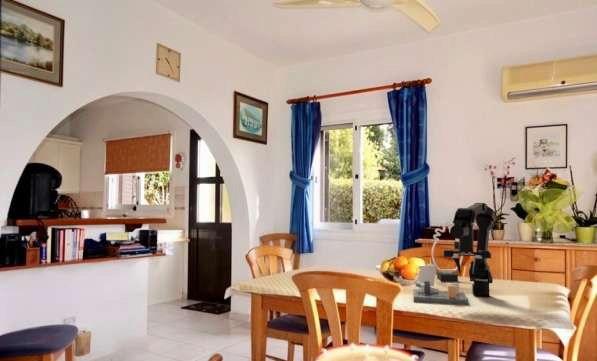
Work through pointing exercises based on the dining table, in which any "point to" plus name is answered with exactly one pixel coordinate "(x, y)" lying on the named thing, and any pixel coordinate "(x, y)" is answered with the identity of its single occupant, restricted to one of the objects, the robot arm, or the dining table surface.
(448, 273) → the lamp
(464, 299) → the panel
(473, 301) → the dining table surface
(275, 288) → the dining table surface
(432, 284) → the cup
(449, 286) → the paddle
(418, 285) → the rocker
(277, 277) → the dining table surface
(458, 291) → the paddle
